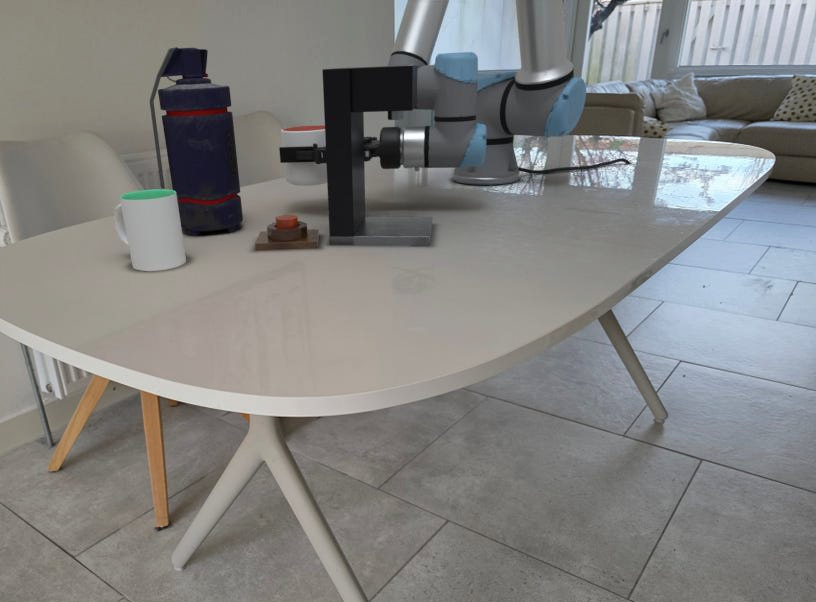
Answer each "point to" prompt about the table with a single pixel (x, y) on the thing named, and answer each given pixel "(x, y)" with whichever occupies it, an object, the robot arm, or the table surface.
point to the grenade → (198, 143)
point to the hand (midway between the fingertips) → (287, 150)
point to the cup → (304, 170)
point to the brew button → (286, 221)
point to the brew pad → (287, 238)
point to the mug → (151, 229)
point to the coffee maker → (345, 152)
